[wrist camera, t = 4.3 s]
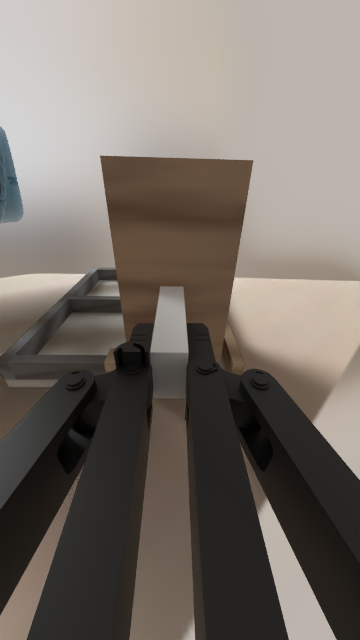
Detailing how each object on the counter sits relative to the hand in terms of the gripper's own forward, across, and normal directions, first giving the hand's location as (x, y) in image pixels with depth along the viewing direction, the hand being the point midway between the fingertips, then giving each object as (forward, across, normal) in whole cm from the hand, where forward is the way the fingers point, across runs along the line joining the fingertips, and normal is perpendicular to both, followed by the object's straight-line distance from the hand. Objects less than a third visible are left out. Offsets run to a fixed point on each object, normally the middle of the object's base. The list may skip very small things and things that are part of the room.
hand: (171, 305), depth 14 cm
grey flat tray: (+13, -4, -9) cm, 16 cm away
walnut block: (+5, 0, -8) cm, 9 cm away
